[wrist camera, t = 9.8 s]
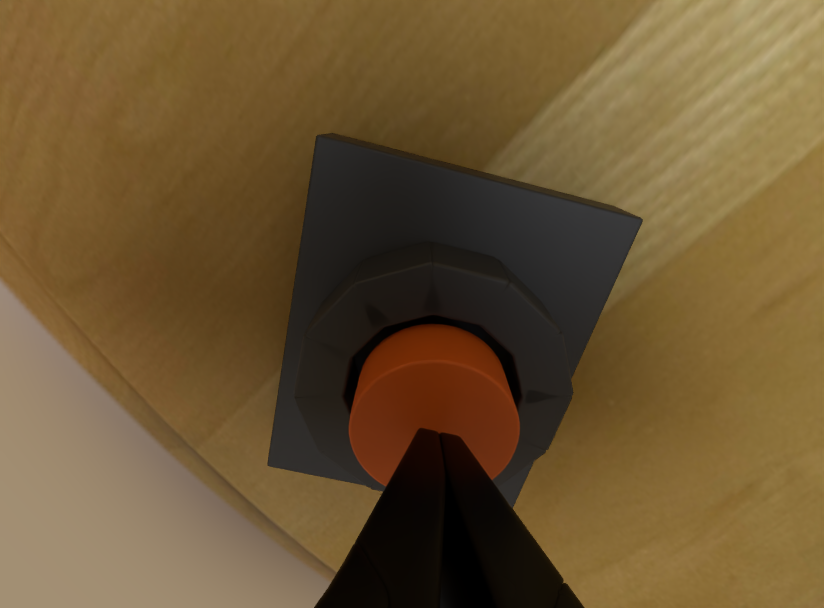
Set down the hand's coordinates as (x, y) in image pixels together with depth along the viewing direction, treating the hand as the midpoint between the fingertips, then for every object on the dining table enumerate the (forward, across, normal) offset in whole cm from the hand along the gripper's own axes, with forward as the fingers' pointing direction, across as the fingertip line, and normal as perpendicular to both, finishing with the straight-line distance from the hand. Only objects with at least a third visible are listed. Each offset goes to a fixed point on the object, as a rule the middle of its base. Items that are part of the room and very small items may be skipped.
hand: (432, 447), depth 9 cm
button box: (+5, 0, 0) cm, 5 cm away
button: (+2, 0, 0) cm, 2 cm away
